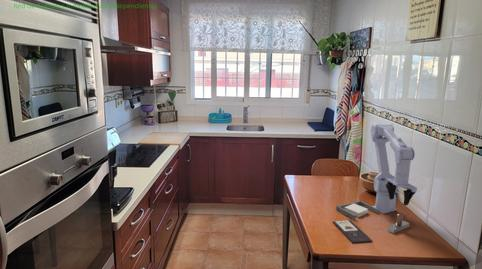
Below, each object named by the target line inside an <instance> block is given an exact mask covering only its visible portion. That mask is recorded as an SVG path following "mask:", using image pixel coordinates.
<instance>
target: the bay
mask: <svg viewBox="0 0 482 269" xmlns="http://www.w3.org/2000/svg"><path fill="white" fill-rule="evenodd" d="M351 204H357V205H359V206H362V207H364V208H367V209H368V211H371V212H374V213H375V214H379V213H380V212H379V209H377V208H375V207H373V206H374V205H370V204H368V203H366V202H364V201H362V200H358V201H353V202H349V203H344V204H340V205H336V206H335V207H336V208H335V210H336V211H338V212H339V213H341V214H343V215H344V216H347V217H348V218H350V219H352V220H354V221H355V220H356V217H357V216H355V215H354V214H352V213H350V212H348V211H346V210H345V207H347V206H349V205H351Z"/></svg>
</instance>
